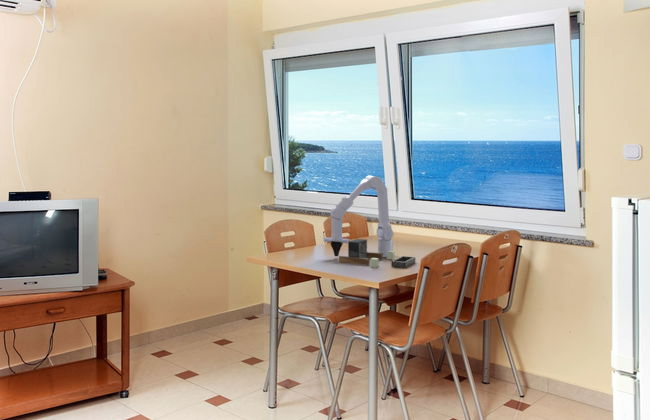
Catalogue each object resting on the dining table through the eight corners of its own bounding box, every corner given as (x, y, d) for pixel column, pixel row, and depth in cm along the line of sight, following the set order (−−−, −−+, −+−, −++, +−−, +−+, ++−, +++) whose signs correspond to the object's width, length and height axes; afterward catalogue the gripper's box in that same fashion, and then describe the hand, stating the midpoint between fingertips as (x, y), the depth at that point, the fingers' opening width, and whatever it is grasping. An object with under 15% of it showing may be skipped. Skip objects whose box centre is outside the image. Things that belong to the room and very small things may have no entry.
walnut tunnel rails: (354, 256, 338) (354, 250, 338) (382, 258, 331) (382, 253, 331) (338, 262, 320) (338, 256, 320) (368, 265, 313) (368, 259, 313)
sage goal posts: (389, 258, 333) (389, 250, 332) (394, 258, 331) (394, 251, 331) (370, 266, 309) (370, 258, 309) (376, 267, 308) (376, 259, 308)
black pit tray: (402, 261, 324) (402, 256, 324) (415, 262, 321) (415, 257, 321) (391, 266, 310) (391, 261, 310) (405, 268, 307) (405, 262, 307)
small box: (356, 258, 333) (356, 238, 332) (367, 259, 330) (367, 239, 329) (347, 261, 323) (347, 241, 322) (359, 262, 320) (359, 242, 319)
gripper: (320, 230, 330) (320, 256, 331) (346, 232, 323) (345, 258, 325) (326, 228, 336) (326, 253, 338) (351, 230, 330) (351, 256, 331)
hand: (336, 256), depth 332 cm, fingers closed
